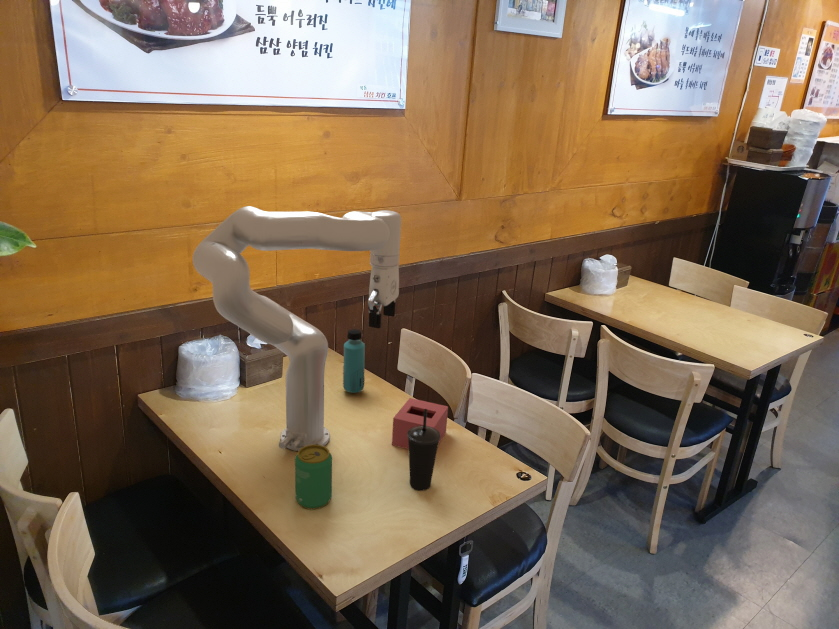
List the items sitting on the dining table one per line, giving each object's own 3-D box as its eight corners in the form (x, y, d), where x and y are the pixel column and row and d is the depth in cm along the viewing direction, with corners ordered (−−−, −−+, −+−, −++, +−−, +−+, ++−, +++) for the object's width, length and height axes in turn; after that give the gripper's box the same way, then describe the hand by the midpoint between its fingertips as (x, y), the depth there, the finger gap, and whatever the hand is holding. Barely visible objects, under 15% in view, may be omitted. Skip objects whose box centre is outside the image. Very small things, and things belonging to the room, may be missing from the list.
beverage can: (337, 503, 138) (338, 457, 134) (304, 514, 134) (303, 467, 130) (322, 484, 144) (322, 439, 140) (289, 494, 140) (289, 448, 136)
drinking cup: (413, 497, 142) (418, 420, 135) (398, 479, 148) (402, 404, 141) (442, 489, 145) (448, 414, 138) (426, 472, 151) (432, 399, 144)
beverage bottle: (360, 398, 184) (362, 336, 177) (339, 395, 185) (340, 333, 178) (366, 389, 190) (369, 328, 183) (346, 386, 191) (347, 325, 184)
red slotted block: (431, 455, 158) (433, 427, 156) (391, 444, 162) (393, 417, 159) (445, 432, 169) (448, 406, 166) (408, 423, 172) (409, 397, 170)
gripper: (385, 269, 152) (382, 334, 157) (410, 254, 167) (406, 313, 173) (357, 265, 154) (355, 329, 160) (384, 250, 169) (381, 309, 175)
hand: (382, 321), depth 166 cm, fingers open, 9 cm apart
